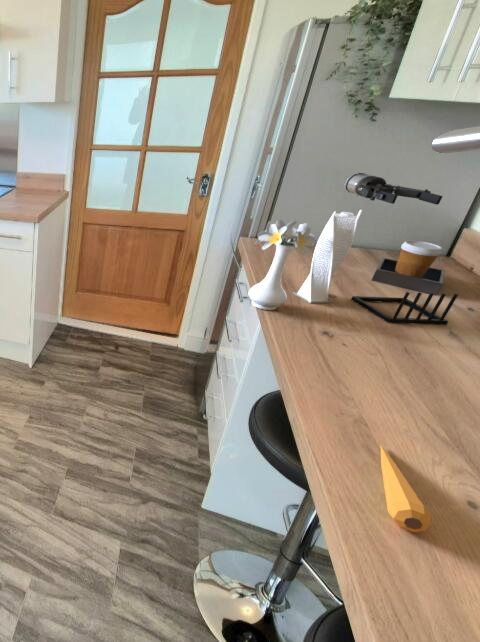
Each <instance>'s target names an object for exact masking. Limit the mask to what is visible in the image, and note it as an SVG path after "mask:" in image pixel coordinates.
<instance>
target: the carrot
mask: <svg viewBox="0 0 480 642" xmlns="http://www.w3.org/2000/svg"><path fill="white" fill-rule="evenodd" d="M380 466H381V474H382V480H383V481H382V482H383V488H384V494H385V495H384V496H385V501H386V508H387V509H386V510H387V512H388V514H389V515H390V516H391V518H392V519H393V521H394V522H395V524H396V525H397V526H398V527H400V529H404V530H406V531H409V532H411V533H419V532H426V531H427V530H428V529H429V528H430V527H429V526H430V525H432V515H431V514H430V512H429V511H428V510H427V507H425V505H424V503H423V502H422V501H421V499H420V498H419V496H418V495H417V493H416V492H415V490H414V489H413V487H412V486H411V485H410V483H409V481H408V480H407V479H406V477H405V475H404V474H403V472H402V471H401V470H400V468H399V467H398V465H397V463H396V462H395V461H394V460H393V458H392V457H391V456H390V455H389V453H388V452H387V451H386V450H385V448H384V447H383V446H382V445H380Z"/></svg>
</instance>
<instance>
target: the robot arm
mask: <svg viewBox="0 0 480 642" xmlns="http://www.w3.org/2000/svg"><path fill="white" fill-rule="evenodd" d="M452 130H453V131H451V130H448V131H449V132H447V133H444V134H442V135H440V136H438V137H437V138H435V139H434V140H433V142H432V146H431V147H432V149H433V150H434V151H436V152H439V153H445V154H451V153H452V154H453V153H461V152H462V153H463V152H470V151H479V150H480V125H479V126H473V127H464V128H459V129H452ZM344 186H345V187H344V188H345V189H346V190H347V191H348V192H347V193H350V194H353V195H354V196H355V197H359V196H360V197H363V198H365V199H369V201H375V200H379V201H383V202H385V203H389V204H394V205H395V203H396V200H397V199H398V197H404V198H411V199H416V200H417V199H418V200H419V201H422V202H426V203H429V204H433V205H439V204H440V202H441V201H442V200H443V197H444V196H443V195H439V194H437V193H433V192H432V191H431V190H429V189H427V188H426V189H420V188H419V189H417V188H412V187H406V186H401V185H392V184H388V183H387V181H386V179H385V178H383V177H380V176H376V175H372V174H368V173H365V172H364V173H358V174H354V175H352V176H350V177H349V178H347V180H346V182H345V184H344Z"/></svg>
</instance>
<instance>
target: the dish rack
mask: <svg viewBox="0 0 480 642" xmlns="http://www.w3.org/2000/svg"><path fill="white" fill-rule="evenodd" d="M422 294H423V292H417V294H416V296H415V297H414V300H410V299H408V297H409V295H410V292H409V291H406V292H405V294H404V295H403V297H390V296H389V297H388V296H384V297H383V296H361V295H359V296H358V295H352V296H351V298H350V300H351V301H352V300H353V301H352V302H354V303H355V304H357V303H358V304H357V305H359V306H360V305H361V306H360V307H362V308H364V309H365V308H366V309H365V310H367V309H368V310H367V311H369V312H370V313H372V314H373V313H374V314H373V315H374V316H376V317H378V316H379V317H378V318H380V319H381V318H382V319H381V320H383V319H384V320H383V321H385V322H386V323H388V324H410V323H414V324H415V325H439V326H440V325H441V326H447V325H448V323H449V320H447V319H445V318H446V316H447V315H448V314H449V312H450V310H451V308H452V306H453V305H454V303H455V301H456V300H457V298H458V296H459V293H454V294H453V296H452V297H451V298H450V301H449V302H448V304H447V306H446V308H445V309H444V312H443V313H442V314H441V316H440V315H438V314H436V312H437V311H438V309H439V308H440V305H441V304H442V302H443V301H444V299H445V297H446V296H447V293H444V292H442V293H441V295H440V297H439V298H438V300H437V302H436V303H435V305H434V308H433V309H432V310H428V309H427V308H428V305H429V303H430V302H431V300H432V298H433V297H434V296H435V295H434V293H430V294H428V296H427V297H426V299H425V302H424V303H423V305H422V306H421V305H420V304H417V303H418V302H419V300H420V298H421V296H422ZM366 301H382V302H381V303H394V302H397V304H399V305H398V307H397V309H396V310H395V312H394V315H392V316H390V315H387V314H386V313H384V312H383V311H381V310H379V309H378V308H376V307H374V306H373V305H371V304H369V303H368V302H366ZM404 305H406V306H407V307H409V306H410V307H409V309H408V311H407V312H406V314H405V316H404V317H398V316H399V314H400V313H401V312H402V311H401V310H402V309H403V307H404ZM413 310H415V311H417V312H418V314H417V316H416V317H410V316H411V314H412V312H413ZM423 315H424V316H425V317H428V318H422V316H423Z"/></svg>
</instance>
